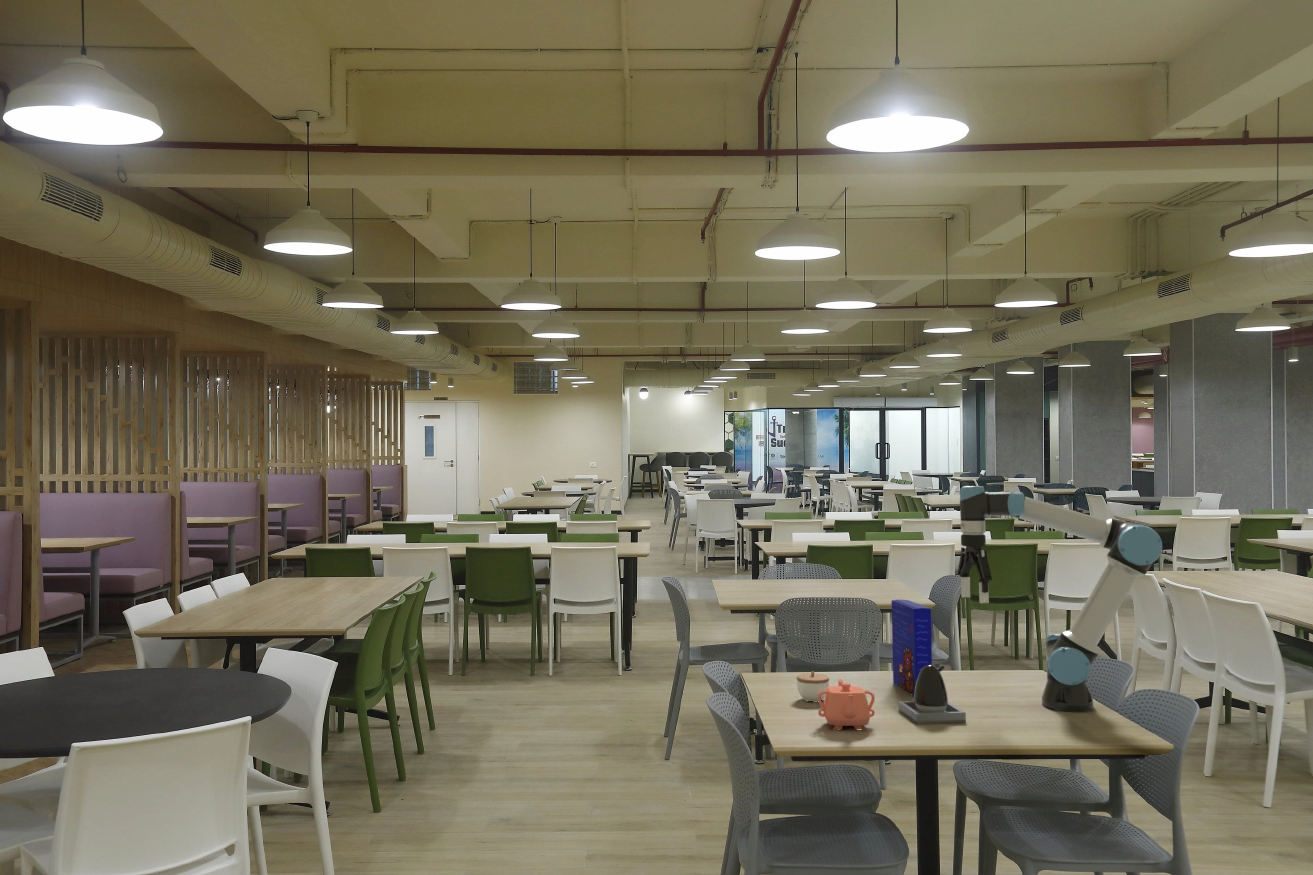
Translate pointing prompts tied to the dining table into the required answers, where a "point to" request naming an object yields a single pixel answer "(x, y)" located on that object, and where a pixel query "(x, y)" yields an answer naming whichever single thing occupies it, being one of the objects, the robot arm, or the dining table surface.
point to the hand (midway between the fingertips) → (974, 599)
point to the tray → (932, 714)
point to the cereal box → (910, 642)
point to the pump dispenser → (930, 690)
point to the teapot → (846, 705)
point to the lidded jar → (812, 685)
